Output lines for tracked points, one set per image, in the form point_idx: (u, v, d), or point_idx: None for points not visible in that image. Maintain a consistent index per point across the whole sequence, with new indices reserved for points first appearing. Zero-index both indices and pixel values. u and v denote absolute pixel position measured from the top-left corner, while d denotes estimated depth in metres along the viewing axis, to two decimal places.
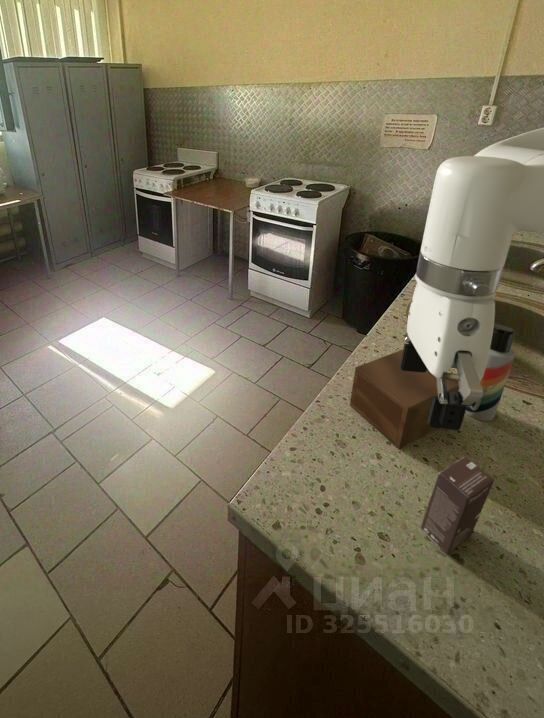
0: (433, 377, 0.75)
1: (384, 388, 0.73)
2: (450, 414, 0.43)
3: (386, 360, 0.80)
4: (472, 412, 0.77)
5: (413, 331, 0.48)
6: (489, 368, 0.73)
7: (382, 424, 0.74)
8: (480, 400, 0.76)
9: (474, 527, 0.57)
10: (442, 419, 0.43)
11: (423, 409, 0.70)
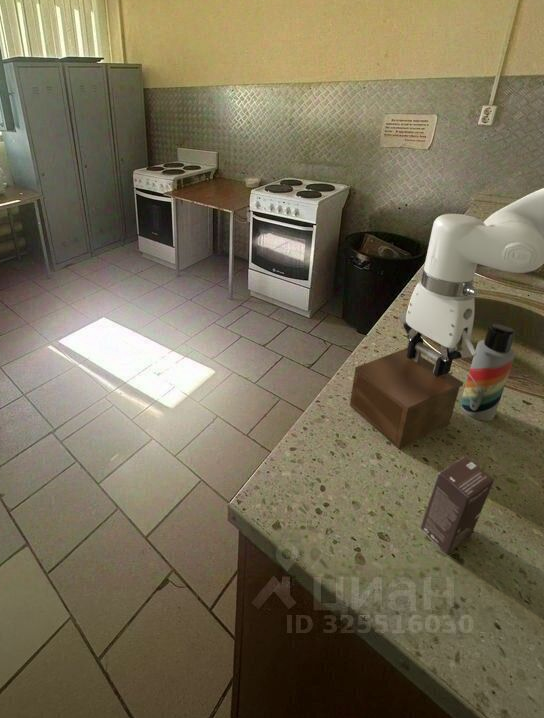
0: (433, 377, 0.75)
1: (384, 388, 0.73)
2: (448, 365, 0.73)
3: (386, 360, 0.80)
4: (472, 412, 0.77)
5: (418, 323, 0.75)
6: (489, 368, 0.73)
7: (382, 424, 0.74)
8: (480, 400, 0.76)
9: (474, 527, 0.57)
10: (444, 370, 0.73)
11: (423, 409, 0.70)
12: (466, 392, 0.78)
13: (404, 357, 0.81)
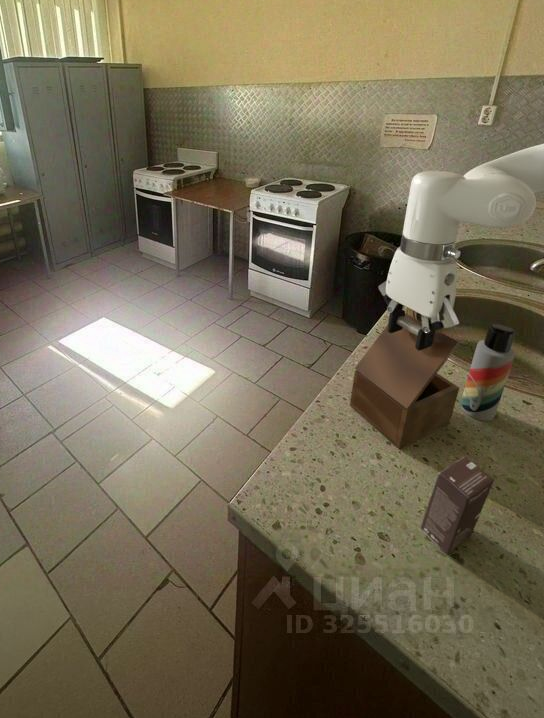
0: None
1: (382, 388, 0.72)
2: (430, 337, 0.67)
3: (380, 342, 0.77)
4: (472, 412, 0.77)
5: (398, 293, 0.69)
6: (489, 368, 0.73)
7: (382, 424, 0.74)
8: (480, 400, 0.76)
9: (474, 527, 0.57)
10: (426, 342, 0.68)
11: (423, 409, 0.70)
12: (466, 392, 0.78)
13: None
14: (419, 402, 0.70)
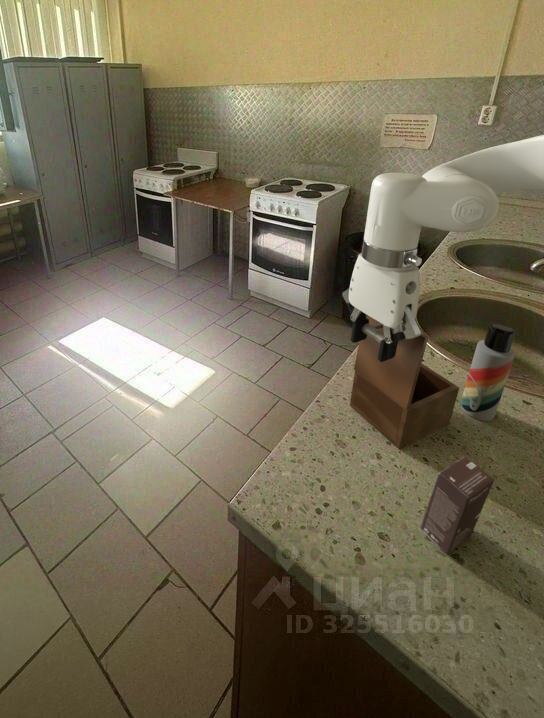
0: (402, 346, 0.67)
1: (381, 390, 0.72)
2: (392, 348, 0.64)
3: (364, 341, 0.75)
4: (472, 412, 0.77)
5: (360, 301, 0.66)
6: (489, 368, 0.73)
7: (382, 424, 0.74)
8: (480, 400, 0.76)
9: (474, 527, 0.57)
10: (388, 353, 0.64)
11: (423, 409, 0.70)
12: (466, 392, 0.78)
13: (371, 325, 0.73)
14: (419, 402, 0.70)
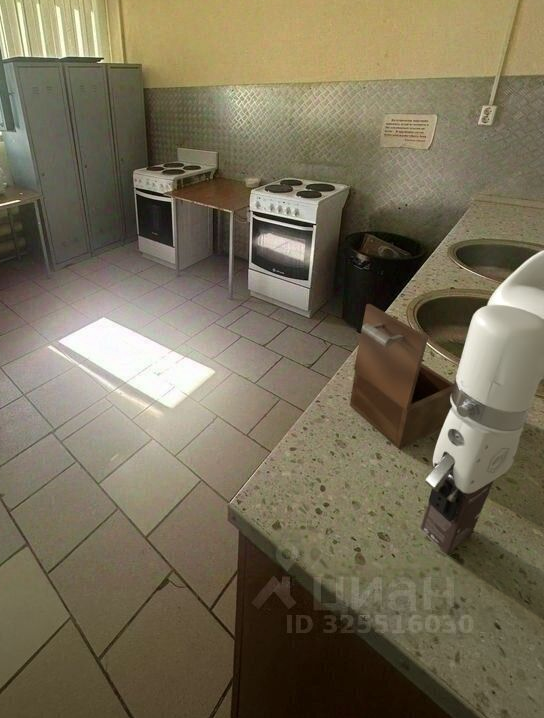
0: (402, 346, 0.67)
1: (381, 390, 0.72)
2: (438, 499, 0.53)
3: (364, 341, 0.75)
4: None
5: None
6: None
7: (382, 424, 0.74)
8: None
9: (474, 527, 0.57)
10: (433, 499, 0.54)
11: (423, 409, 0.70)
12: None
13: (371, 325, 0.73)
14: (419, 402, 0.70)
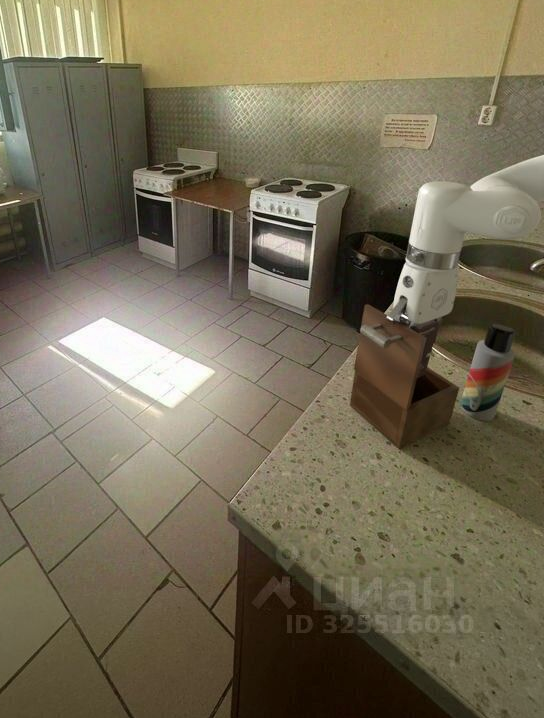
0: (401, 346, 0.67)
1: (381, 390, 0.72)
2: None
3: (363, 342, 0.75)
4: (472, 412, 0.77)
5: None
6: (489, 368, 0.73)
7: (382, 424, 0.74)
8: (480, 400, 0.76)
9: None
10: None
11: (423, 409, 0.70)
12: (466, 392, 0.78)
13: (370, 325, 0.73)
14: (419, 402, 0.70)
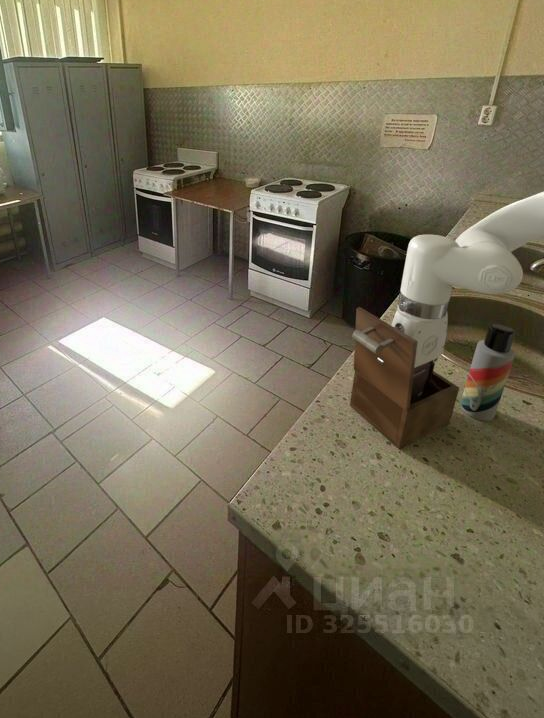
0: (394, 349, 0.66)
1: (381, 390, 0.72)
2: None
3: (359, 343, 0.74)
4: (472, 412, 0.77)
5: None
6: (489, 368, 0.73)
7: (382, 424, 0.74)
8: (480, 400, 0.76)
9: None
10: None
11: (423, 409, 0.70)
12: (466, 392, 0.78)
13: (363, 328, 0.72)
14: (419, 402, 0.70)
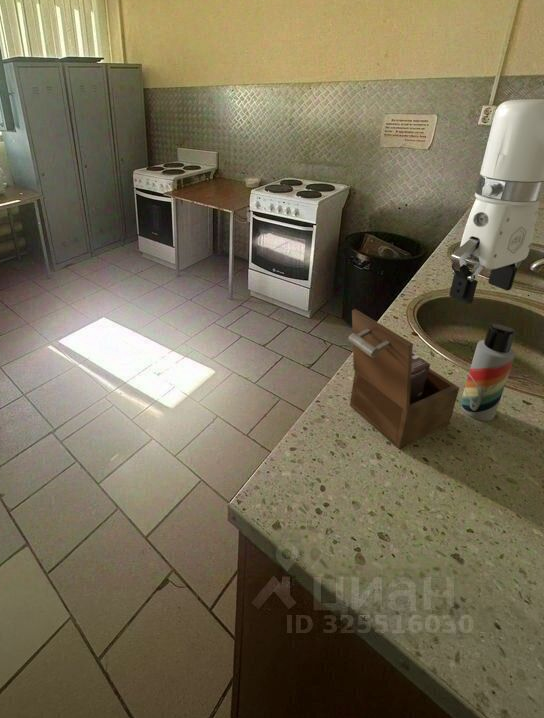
0: (391, 351, 0.66)
1: (381, 390, 0.72)
2: (459, 284, 0.60)
3: None
4: (472, 412, 0.77)
5: None
6: (489, 368, 0.73)
7: (382, 424, 0.74)
8: (480, 400, 0.76)
9: None
10: (454, 288, 0.61)
11: (423, 409, 0.70)
12: (466, 392, 0.78)
13: (360, 330, 0.72)
14: (419, 402, 0.70)
